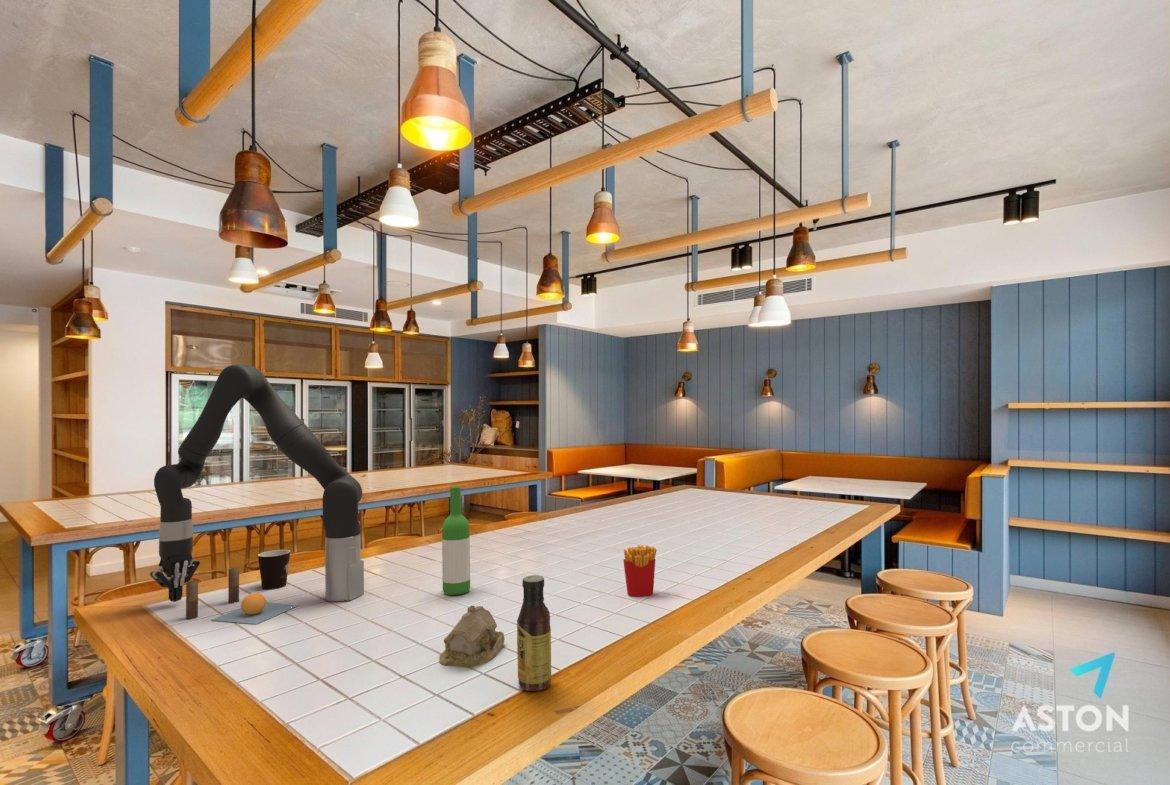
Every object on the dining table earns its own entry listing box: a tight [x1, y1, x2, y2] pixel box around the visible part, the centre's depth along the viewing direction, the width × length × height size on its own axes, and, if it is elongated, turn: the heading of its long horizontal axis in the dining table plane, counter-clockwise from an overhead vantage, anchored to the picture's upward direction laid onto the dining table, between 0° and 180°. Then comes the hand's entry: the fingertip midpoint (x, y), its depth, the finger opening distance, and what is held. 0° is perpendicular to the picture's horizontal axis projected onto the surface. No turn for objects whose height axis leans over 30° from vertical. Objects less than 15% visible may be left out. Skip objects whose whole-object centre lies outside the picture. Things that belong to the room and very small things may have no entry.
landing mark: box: [211, 601, 299, 625], centre depth 147 cm, size 14×14×1 cm
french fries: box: [622, 544, 657, 598], centre depth 156 cm, size 9×4×13 cm, turn 100°
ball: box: [240, 592, 267, 615], centre depth 146 cm, size 6×6×6 cm
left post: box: [185, 580, 199, 620], centre depth 144 cm, size 2×2×9 cm
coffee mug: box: [257, 549, 291, 591], centre depth 172 cm, size 12×9×10 cm
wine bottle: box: [441, 485, 471, 596], centre depth 161 cm, size 8×8×30 cm
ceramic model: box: [438, 605, 506, 668], centre depth 119 cm, size 14×11×10 cm
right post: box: [227, 567, 240, 604], centre depth 156 cm, size 2×2×9 cm
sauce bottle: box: [516, 574, 552, 692], centre depth 104 cm, size 6×6×20 cm
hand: (175, 600), depth 154 cm, fingers closed
